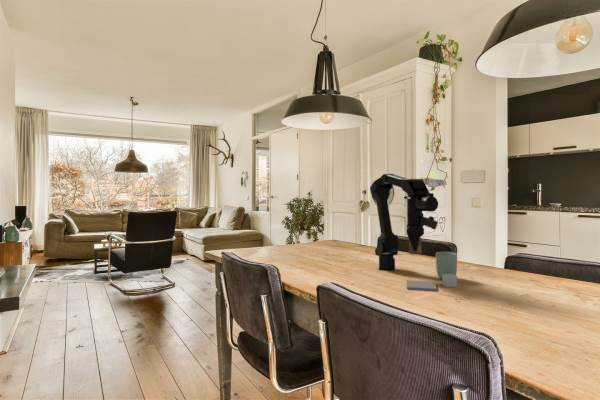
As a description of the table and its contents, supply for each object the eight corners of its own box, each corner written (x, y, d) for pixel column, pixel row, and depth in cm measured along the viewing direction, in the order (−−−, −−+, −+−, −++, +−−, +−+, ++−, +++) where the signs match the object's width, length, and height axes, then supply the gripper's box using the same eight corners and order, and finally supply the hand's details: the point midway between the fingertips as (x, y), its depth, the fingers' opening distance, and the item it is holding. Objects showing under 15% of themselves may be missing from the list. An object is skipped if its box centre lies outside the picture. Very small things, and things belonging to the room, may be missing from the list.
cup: (460, 280, 140) (460, 254, 140) (440, 281, 140) (440, 255, 140) (452, 276, 148) (452, 251, 148) (433, 276, 148) (433, 251, 148)
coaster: (406, 289, 129) (406, 287, 129) (407, 282, 139) (407, 280, 139) (436, 291, 126) (436, 288, 126) (434, 283, 136) (434, 281, 136)
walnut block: (409, 254, 142) (409, 238, 142) (409, 252, 147) (409, 237, 146) (421, 254, 141) (421, 239, 141) (421, 252, 145) (420, 237, 145)
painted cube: (446, 287, 132) (445, 276, 132) (442, 284, 136) (442, 273, 135) (457, 287, 131) (457, 276, 131) (452, 284, 135) (452, 273, 135)
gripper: (438, 211, 132) (438, 254, 133) (434, 209, 150) (435, 246, 150) (406, 211, 135) (406, 253, 136) (406, 209, 153) (407, 246, 154)
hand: (415, 249), depth 144 cm, fingers closed on walnut block, 4 cm apart
